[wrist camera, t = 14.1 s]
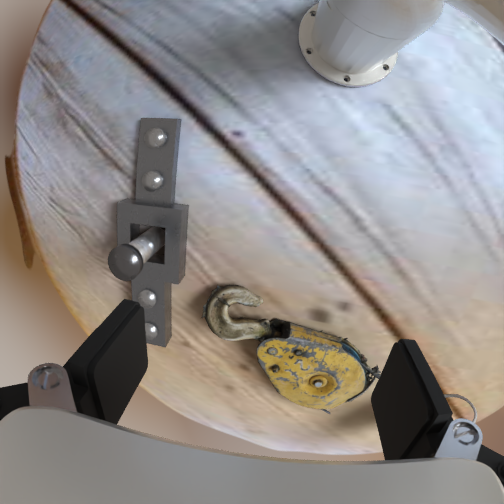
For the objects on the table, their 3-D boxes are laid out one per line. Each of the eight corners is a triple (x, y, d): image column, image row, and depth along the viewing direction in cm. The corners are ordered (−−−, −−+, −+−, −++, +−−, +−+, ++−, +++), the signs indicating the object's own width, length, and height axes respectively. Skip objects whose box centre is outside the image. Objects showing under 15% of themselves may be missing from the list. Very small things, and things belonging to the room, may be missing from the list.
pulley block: (238, 271, 36) (393, 394, 41) (249, 249, 41) (389, 367, 46) (177, 332, 43) (324, 429, 47) (191, 308, 48) (326, 404, 52)
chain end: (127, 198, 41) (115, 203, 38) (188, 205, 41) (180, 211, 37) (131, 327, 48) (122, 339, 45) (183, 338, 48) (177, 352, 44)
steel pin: (143, 221, 42) (107, 244, 32) (170, 224, 42) (138, 249, 32) (143, 248, 43) (109, 277, 34) (169, 252, 43) (139, 283, 34)
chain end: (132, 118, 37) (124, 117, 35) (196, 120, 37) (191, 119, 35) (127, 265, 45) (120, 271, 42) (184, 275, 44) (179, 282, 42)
